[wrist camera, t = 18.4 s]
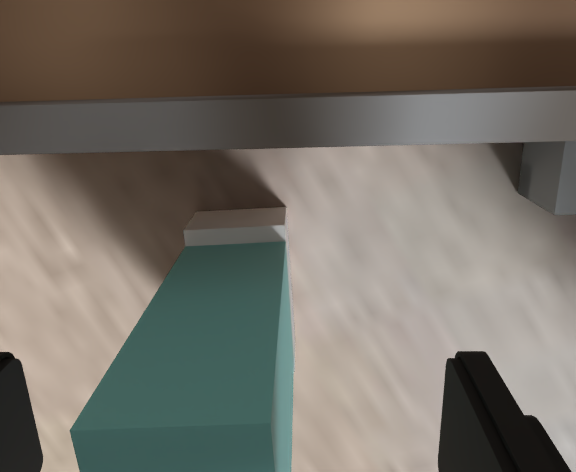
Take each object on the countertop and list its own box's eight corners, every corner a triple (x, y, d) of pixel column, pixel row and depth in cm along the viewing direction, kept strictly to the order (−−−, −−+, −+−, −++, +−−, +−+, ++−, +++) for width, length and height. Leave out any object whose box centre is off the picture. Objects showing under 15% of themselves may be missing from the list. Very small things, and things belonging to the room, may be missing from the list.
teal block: (286, 206, 17) (268, 394, 7) (295, 340, 18) (289, 636, 9) (196, 211, 17) (63, 402, 7) (212, 343, 18) (121, 638, 9)
